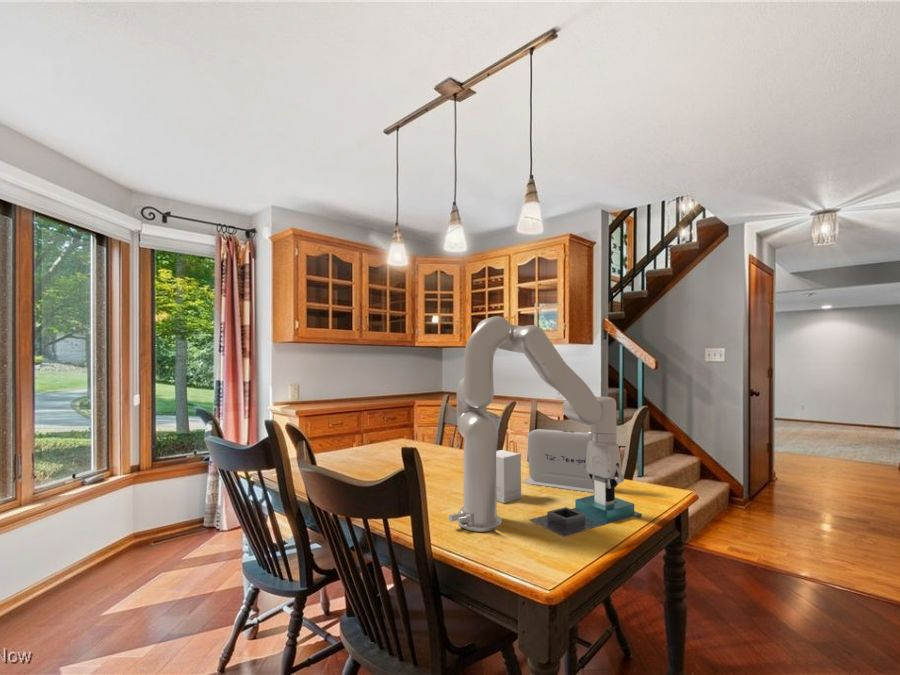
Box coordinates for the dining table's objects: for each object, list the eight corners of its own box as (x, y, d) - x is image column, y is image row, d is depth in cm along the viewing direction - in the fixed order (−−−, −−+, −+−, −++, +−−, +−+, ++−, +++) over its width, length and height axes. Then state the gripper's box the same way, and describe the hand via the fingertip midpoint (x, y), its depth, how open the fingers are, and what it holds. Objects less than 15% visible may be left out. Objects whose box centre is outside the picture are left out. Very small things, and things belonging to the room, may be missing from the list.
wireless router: (520, 483, 171) (520, 430, 171) (528, 477, 179) (528, 426, 180) (607, 495, 156) (606, 437, 157) (612, 488, 165) (611, 432, 166)
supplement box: (522, 498, 154) (521, 453, 154) (504, 504, 148) (504, 457, 148) (502, 491, 161) (502, 449, 161) (484, 497, 155) (484, 453, 155)
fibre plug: (605, 513, 135) (604, 466, 135) (594, 509, 138) (594, 463, 139) (614, 511, 137) (613, 464, 137) (603, 507, 140) (603, 461, 141)
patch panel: (563, 540, 119) (563, 525, 119) (528, 523, 131) (528, 509, 131) (641, 517, 136) (641, 503, 136) (603, 503, 148) (603, 491, 148)
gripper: (574, 434, 143) (574, 493, 143) (618, 443, 129) (618, 509, 129) (590, 432, 147) (591, 489, 147) (635, 441, 133) (636, 504, 133)
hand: (604, 498), depth 138 cm, fingers closed on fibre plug, 3 cm apart
